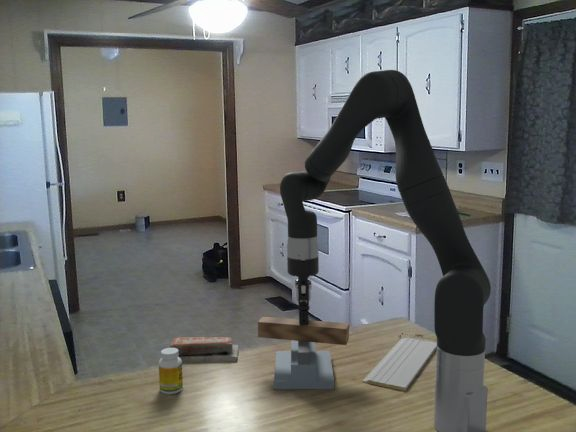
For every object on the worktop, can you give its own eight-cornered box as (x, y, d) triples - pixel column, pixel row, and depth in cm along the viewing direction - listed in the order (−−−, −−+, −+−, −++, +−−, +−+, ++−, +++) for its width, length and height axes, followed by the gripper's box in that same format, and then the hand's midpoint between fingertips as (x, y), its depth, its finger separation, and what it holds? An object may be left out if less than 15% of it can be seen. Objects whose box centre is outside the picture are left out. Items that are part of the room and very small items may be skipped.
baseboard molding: (356, 383, 142) (405, 393, 136) (356, 371, 141) (405, 382, 136) (396, 340, 169) (438, 347, 163) (396, 330, 168) (438, 337, 163)
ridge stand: (329, 358, 155) (329, 325, 154) (334, 389, 137) (334, 352, 136) (276, 358, 155) (276, 325, 154) (273, 389, 137) (273, 352, 136)
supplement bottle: (160, 385, 140) (158, 347, 138) (182, 383, 141) (181, 345, 139) (159, 395, 135) (157, 356, 133) (183, 393, 136) (181, 354, 134)
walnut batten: (348, 339, 144) (349, 323, 143) (346, 345, 140) (346, 329, 139) (262, 331, 149) (262, 316, 149) (258, 337, 146) (257, 321, 145)
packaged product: (167, 347, 152) (172, 333, 162) (167, 364, 153) (173, 350, 163) (237, 345, 153) (238, 331, 163) (237, 362, 154) (238, 348, 163)
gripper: (287, 248, 149) (288, 310, 151) (286, 261, 135) (287, 329, 137) (317, 247, 148) (318, 309, 151) (319, 261, 134) (320, 329, 137)
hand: (303, 319), depth 144 cm, fingers open, 8 cm apart
